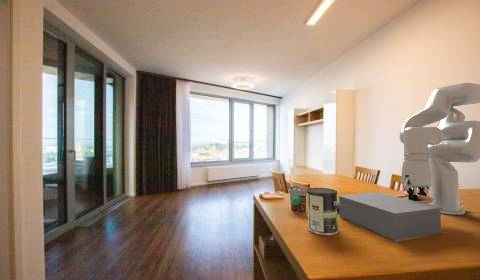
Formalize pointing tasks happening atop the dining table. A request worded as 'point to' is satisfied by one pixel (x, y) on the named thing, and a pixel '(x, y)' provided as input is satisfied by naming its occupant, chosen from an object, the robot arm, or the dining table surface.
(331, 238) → the dining table surface
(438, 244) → the dining table surface
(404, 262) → the dining table surface
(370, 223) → the box
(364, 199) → the lid
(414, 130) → the robot arm
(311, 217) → the coffee can
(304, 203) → the food container
